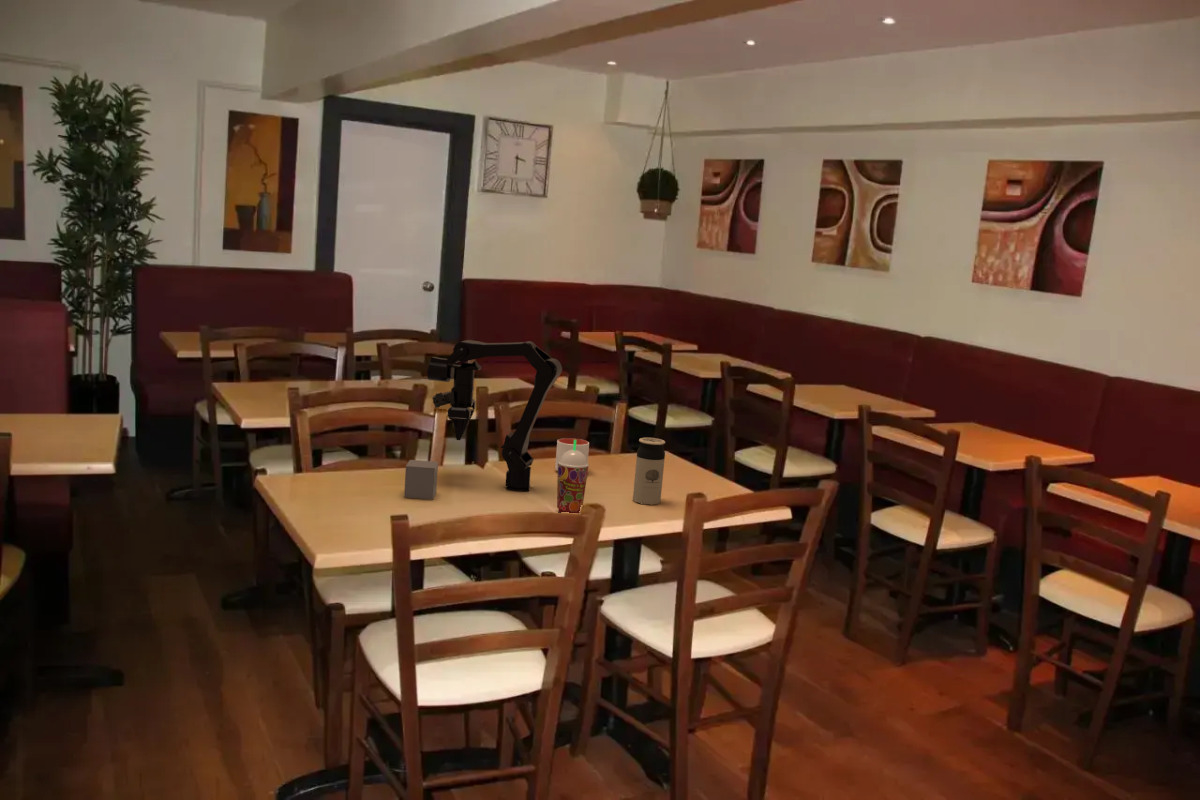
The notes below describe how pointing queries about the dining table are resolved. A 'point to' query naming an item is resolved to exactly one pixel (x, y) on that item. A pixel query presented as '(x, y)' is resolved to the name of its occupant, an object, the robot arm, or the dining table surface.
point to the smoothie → (571, 480)
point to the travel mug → (649, 471)
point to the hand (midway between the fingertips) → (460, 436)
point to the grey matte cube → (421, 479)
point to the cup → (570, 447)
